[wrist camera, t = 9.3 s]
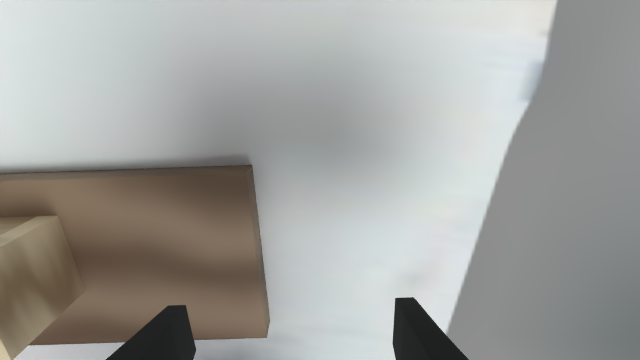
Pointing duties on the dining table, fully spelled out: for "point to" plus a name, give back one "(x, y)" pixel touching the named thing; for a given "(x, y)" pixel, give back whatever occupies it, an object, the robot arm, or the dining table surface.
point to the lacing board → (152, 248)
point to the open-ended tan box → (33, 279)
